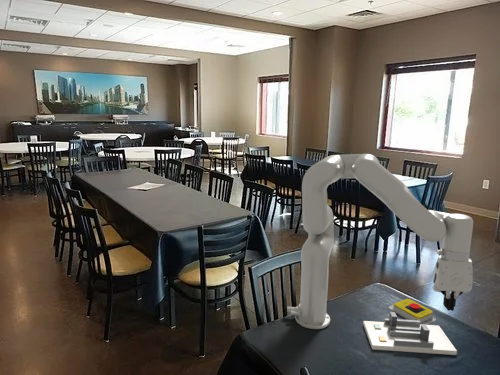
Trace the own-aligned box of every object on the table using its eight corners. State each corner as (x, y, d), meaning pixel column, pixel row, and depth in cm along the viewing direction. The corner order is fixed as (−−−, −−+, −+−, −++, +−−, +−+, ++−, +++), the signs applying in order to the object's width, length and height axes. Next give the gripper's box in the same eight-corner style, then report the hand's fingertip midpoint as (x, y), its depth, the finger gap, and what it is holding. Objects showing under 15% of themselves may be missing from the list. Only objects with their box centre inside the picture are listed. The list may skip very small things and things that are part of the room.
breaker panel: (372, 349, 119) (372, 340, 118) (363, 324, 132) (363, 316, 132) (456, 355, 116) (457, 345, 116) (438, 329, 130) (439, 320, 129)
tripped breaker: (422, 344, 119) (424, 330, 118) (419, 338, 122) (421, 324, 121) (427, 344, 119) (429, 330, 118) (424, 338, 122) (426, 325, 121)
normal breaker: (391, 329, 126) (392, 316, 125) (388, 324, 129) (389, 311, 128) (395, 330, 126) (397, 316, 125) (393, 325, 129) (394, 312, 128)
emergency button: (422, 317, 131) (388, 298, 143) (421, 328, 132) (387, 308, 144) (438, 310, 135) (403, 292, 148) (437, 321, 136) (402, 302, 149)
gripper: (434, 258, 110) (428, 313, 114) (487, 259, 109) (479, 316, 113) (425, 248, 118) (420, 301, 121) (474, 250, 116) (467, 303, 120)
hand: (448, 308), depth 117 cm, fingers closed
